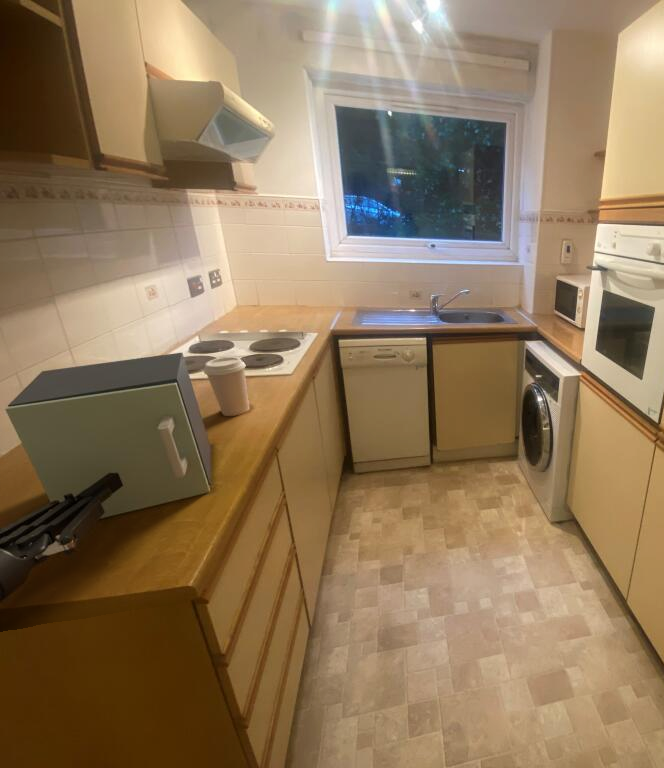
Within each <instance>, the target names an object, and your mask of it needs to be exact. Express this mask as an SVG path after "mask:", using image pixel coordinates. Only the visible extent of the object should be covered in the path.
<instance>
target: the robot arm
mask: <svg viewBox="0 0 664 768" xmlns="http://www.w3.org/2000/svg"><path fill="white" fill-rule="evenodd" d="M122 486H123V484H122V481H121V479H120V476H119V474H118V473H108V474H107V475H106V476H104V477H103V478H101V479H100V480H98V481H97V482H96V483H94V484H93V485H91V486H90V487H89V488H87V489H85V490H83V491H82V492H81V493H80V494H78V495H76V496H75V497H74V496H73V494H71V493H70V494H66V495H64V498H65V500H64V501H63V502H59V500H55V501H52V502H50V501H49V502H48V503H45V504H44V505H43V506H40V507H39V508H37V509H35V510H33V511H31V512H30V513H28V514H26V515H24V516H22V517H20V518H17V520H15V521H13V522H11V523H9V524H7V525H5V526H4V527H2V528H0V604H1V603H2V602H3V601H5V600H6V599H7V598H9V597H10V596H11V595H13V593H14V592H16V591H17V590H18V589H20V588H21V587H22V586H23V585H24V584H25V583H26V582H27V579H28V577H29V574H30V572H31V570H32V569H34V567H37V566H38V565H40V564H42V563H44V562H45V561H47V560H48V559H49V558H50V556H51V555H55V554H57V553H61V552H64V554H65V555H71V554H74V553H75V552H76V551H77V550H78V548H79V547H78V546H79V543H80V542H81V541H82V540H83V538H84V537H85V536H86V535H87V534H88V533H89V532H90V530H91V529H92V528H93V527H94V526H95V524H96V523H97V522H98V521H99V520H100V519H102V518H101V516H102V515H103V514H104V513H105V511H104V509H103V506H102V504H101V503H103V502H104V501H105V500H106V499H108V498H109V497H110V496H111V495H112V494H113V493H114V492H116V491H117V490H118V489H120V488H121V487H122Z"/></svg>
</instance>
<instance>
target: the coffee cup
mask: <svg viewBox="0 0 664 768" xmlns="http://www.w3.org/2000/svg"><path fill="white" fill-rule="evenodd" d="M246 366H247V365H246V363H245V362H244V361H243V360H242V359H241V358H240V357H238V356H223V357H218V358H214V359H211V360H209V361H206V363H205V366H204V368H203V373H204V375H206V376H207V379H208V381H209V383H210V386H211V388H212V391H213V393H214V396H215V399H216V401H217V403H218V405H219V408H220V411H221V414H222V415H223V416H225V417H235V416H239V415H242V414H245V413H247V412H248V411H250V409H251V407H250V400H249V394H248V387H247V386H248V385H247V380H246V373H245V368H246Z"/></svg>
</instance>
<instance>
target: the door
mask: <svg viewBox="0 0 664 768" xmlns="http://www.w3.org/2000/svg"><path fill="white" fill-rule="evenodd" d="M4 410H5V412H6V414H7V416H8V418H9V420H10V422H11V424H12V426H13V429H14V430H15V432H16V435H17V437H18V439H19V440H20V442H21V444H22V447H23V448H24V451H25V452H26V455H27V457H28V459H29V461H30V463H31V465H32V467H33V469H34V471H35V474H36V475H37V478H38V479H39V481H40V483H41V485H42V487H43V490H44V491H45V493H46V494H45V495H46V496H47V498H48V499H49V503H50V502H52V501H55V500H59V502H63V501H64V500H65V498H64V495H66V494H70V493H71V494H73V496H74V497H75V496H76V495H78V494H80V493H81V492H82V491H83V490H85V489H87V488H89V487H90V486H91V485H93V484H94V483H96V482H97V481H98V480H100V479H101V478H103V477H104V476H106V475H107V474H108V473H118V474H119V476H120V479H121V481H122V484H123V486H122V487H121V488H120V489H118V490H117V491H116V492H114V493H113V494H112V495H111V496H110V497H109V498H108V499H106V500H105V501H104V502H103V503H101V504H102V506H103V509H104V511H105V513H104V514H103V515H102V516H101V518H100V519H104V518H108V517H114V516H116V515H120V514H124V513H129V512H133V511H137V510H141V509H146V508H151V507H154V506H158V505H162V504H166V503H170V502H174V501H178V500H183V499H187V498H191V497H195V496H200V495H204V494H207V493H210V492H211V489H210V485H208V481H207V478H206V475H205V472H204V469H203V465H202V462H201V459H200V456H199V453H198V449H197V446H196V443H195V440H194V437H193V434H192V430H191V427H190V424H189V421H188V418H187V414H186V411H185V408H184V405H183V402H182V398H181V395H180V392H179V389H178V386H177V383H171V384H164V385H157V386H150V387H143V388H136V389H129V390H122V391H115V392H108V393H101V394H94V395H87V396H80V397H73V398H66V399H59V400H52V401H46V402H39V403H32V404H25V405H18V406H11V407H8V406H7V407H5V409H4Z"/></svg>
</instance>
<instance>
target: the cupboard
mask: <svg viewBox="0 0 664 768" xmlns="http://www.w3.org/2000/svg"><path fill="white" fill-rule="evenodd" d="M187 366H188V365H187V363H186V360H185V357H184V353H183V352H175V353H168V354H160V355H159V354H158V355H153V356H144V357H137V358H131V359H130V358H129V359H123V360H115V361H107V362H101V363H93V364H85V365H79V366H78V365H77V366H70V367H65V368H55V369H49V370H48V369H47V370H42V371H41V372H40V373H39V374H38V375H36V377H34V379H32V381H31V382H30V383H29V384H28V385H27V386H25V388H24V389H23V390H22V391H20V392H19V394H18V395H17V396H16V397H15V398H14V399H13V400H11V402H10V403H9V404H8V405H7V407H11V406H18V405H25V404H32V403H39V402H46V401H52V400H59V399H66V398H73V397H80V396H87V395H94V394H101V393H108V392H115V391H122V390H129V389H136V388H143V387H150V386H157V385H164V384H171V383H177V386H178V389H179V392H180V395H181V398H182V402H183V405H184V408H185V411H186V414H187V418H188V421H189V424H190V427H191V430H192V434H193V437H194V440H195V443H196V446H197V449H198V453H199V456H200V459H201V462H202V465H203V469H204V472H205V475H206V478H207V481H208V485H209V486H210V485H211V444H210V440H209V437H208V433H207V431H206V430H207V429H206V427H205V424H204V420H203V417H202V416H203V415H202V413H201V410H200V406H199V403H198V400H197V397H196V393H195V390H194V387H193V384H192V380H191V376H190V374H189V370H188V367H187Z"/></svg>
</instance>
